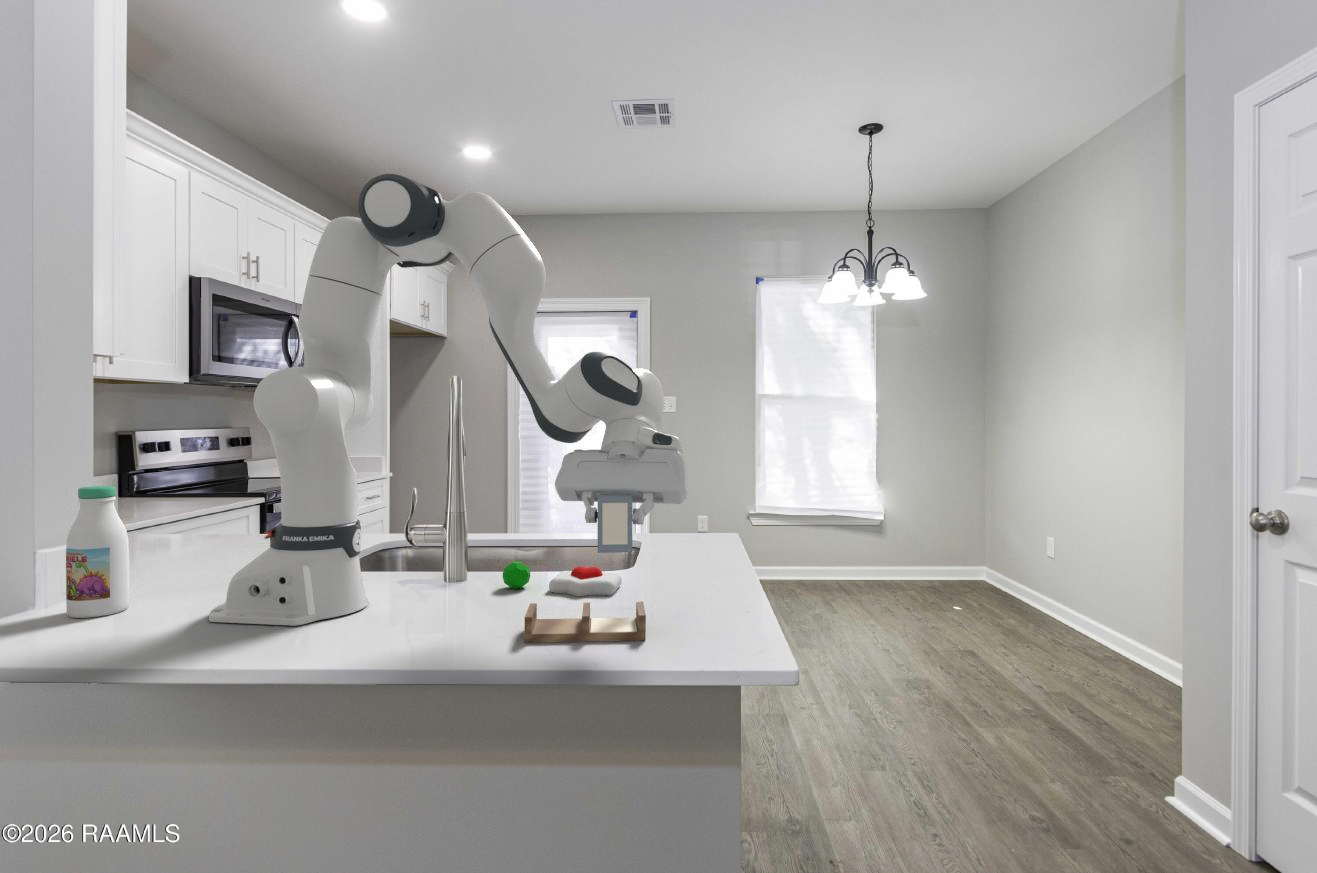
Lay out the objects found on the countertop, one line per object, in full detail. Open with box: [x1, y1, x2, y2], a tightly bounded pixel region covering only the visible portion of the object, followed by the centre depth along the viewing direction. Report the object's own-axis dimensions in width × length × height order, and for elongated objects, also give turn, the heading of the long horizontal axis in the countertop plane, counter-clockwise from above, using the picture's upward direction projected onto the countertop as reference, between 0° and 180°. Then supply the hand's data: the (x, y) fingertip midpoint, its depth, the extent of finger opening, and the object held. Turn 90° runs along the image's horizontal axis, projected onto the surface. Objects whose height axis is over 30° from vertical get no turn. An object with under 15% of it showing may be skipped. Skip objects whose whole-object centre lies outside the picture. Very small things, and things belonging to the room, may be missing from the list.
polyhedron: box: [502, 561, 531, 590], centre depth 123 cm, size 5×5×5 cm
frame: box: [597, 495, 633, 554], centre depth 97 cm, size 5×3×8 cm, turn 95°
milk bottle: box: [65, 485, 131, 619], centre depth 106 cm, size 8×8×20 cm
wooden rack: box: [524, 601, 647, 644], centre depth 98 cm, size 17×7×4 cm, turn 95°
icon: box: [548, 566, 623, 598], centre depth 122 cm, size 12×4×10 cm
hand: (613, 521), depth 97 cm, fingers closed on frame, 6 cm apart
